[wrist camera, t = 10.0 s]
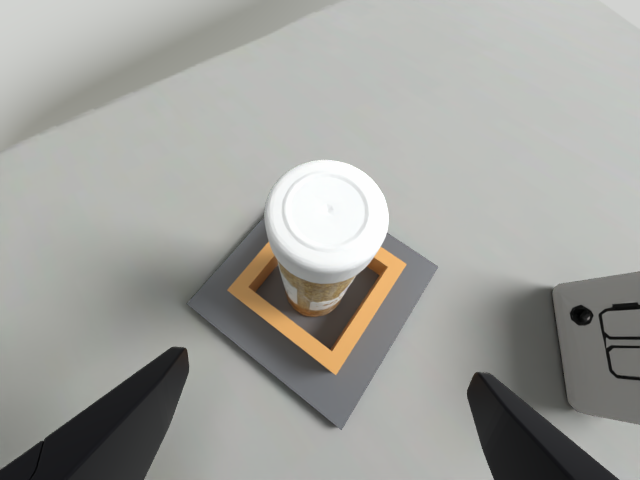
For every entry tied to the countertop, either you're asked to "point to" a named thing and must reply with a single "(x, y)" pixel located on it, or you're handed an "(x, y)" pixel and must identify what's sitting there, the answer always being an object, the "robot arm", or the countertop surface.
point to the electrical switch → (601, 345)
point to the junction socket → (315, 320)
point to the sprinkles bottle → (323, 231)
